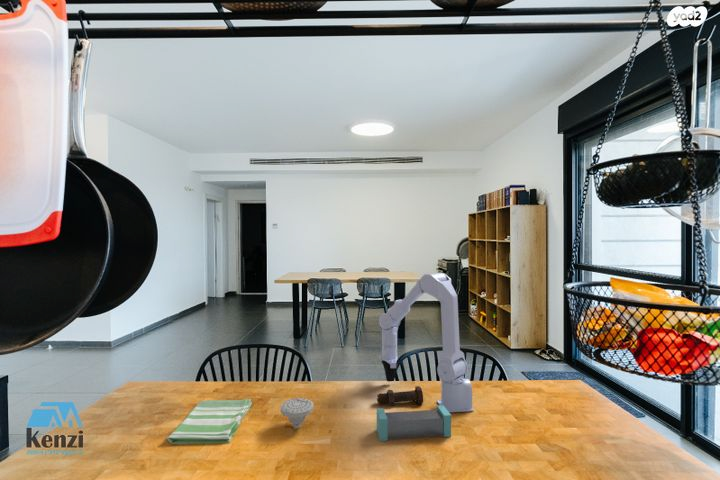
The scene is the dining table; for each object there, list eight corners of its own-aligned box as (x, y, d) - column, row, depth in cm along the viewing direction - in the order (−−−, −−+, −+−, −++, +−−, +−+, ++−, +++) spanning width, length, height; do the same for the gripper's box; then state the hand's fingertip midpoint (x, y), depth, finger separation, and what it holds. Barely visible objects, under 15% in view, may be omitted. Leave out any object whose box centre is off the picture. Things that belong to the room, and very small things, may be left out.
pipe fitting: (443, 425, 105) (443, 405, 105) (451, 436, 99) (451, 415, 99) (376, 429, 103) (376, 408, 103) (380, 441, 97) (380, 419, 97)
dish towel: (252, 404, 119) (252, 396, 119) (231, 445, 96) (231, 435, 96) (198, 406, 118) (198, 397, 118) (163, 447, 95) (163, 437, 95)
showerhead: (272, 406, 102) (293, 392, 111) (272, 431, 102) (293, 416, 111) (300, 413, 98) (319, 398, 107) (300, 439, 98) (319, 422, 107)
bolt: (377, 409, 119) (421, 405, 121) (379, 407, 115) (424, 403, 117) (375, 390, 122) (418, 387, 124) (377, 388, 118) (421, 384, 119)
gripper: (376, 339, 141) (375, 373, 141) (382, 351, 127) (382, 389, 127) (393, 339, 142) (393, 373, 142) (401, 350, 128) (401, 388, 128)
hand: (389, 380), depth 135 cm, fingers closed
